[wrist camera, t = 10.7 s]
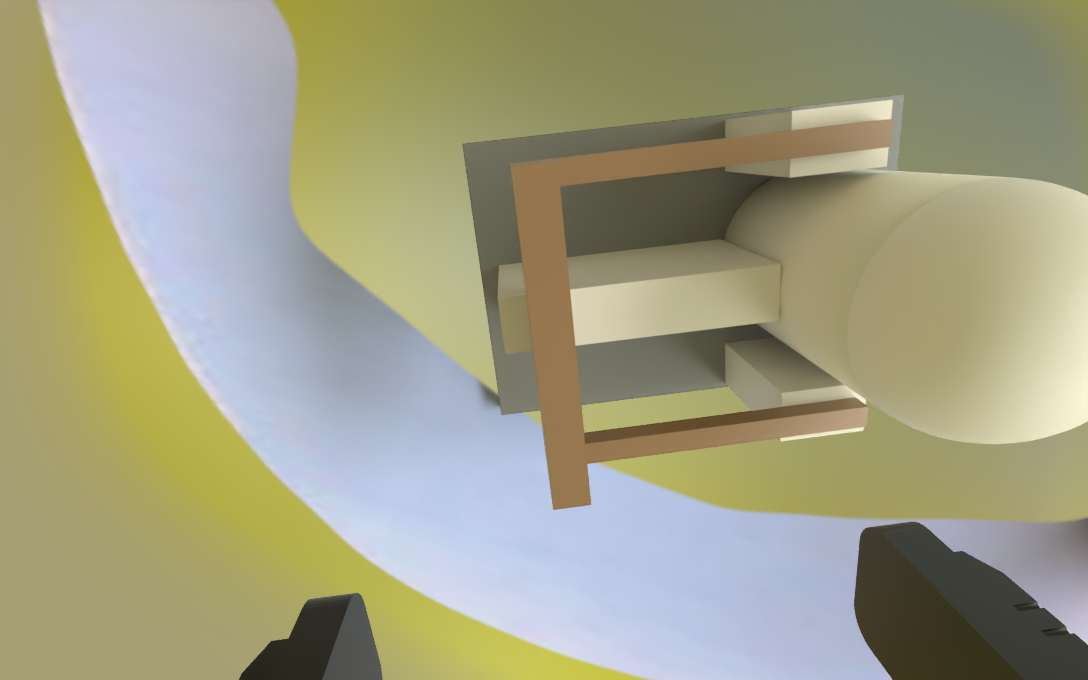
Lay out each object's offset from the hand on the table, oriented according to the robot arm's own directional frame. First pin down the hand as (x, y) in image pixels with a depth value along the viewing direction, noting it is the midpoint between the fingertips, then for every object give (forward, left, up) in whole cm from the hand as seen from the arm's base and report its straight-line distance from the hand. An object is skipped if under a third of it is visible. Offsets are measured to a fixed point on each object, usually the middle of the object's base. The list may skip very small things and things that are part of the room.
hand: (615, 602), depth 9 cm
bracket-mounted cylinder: (-8, 0, -24) cm, 25 cm away
